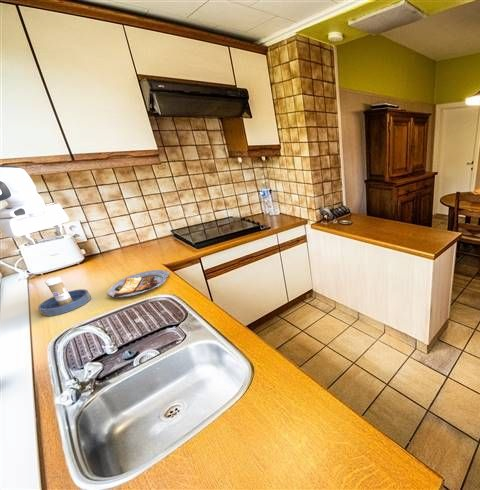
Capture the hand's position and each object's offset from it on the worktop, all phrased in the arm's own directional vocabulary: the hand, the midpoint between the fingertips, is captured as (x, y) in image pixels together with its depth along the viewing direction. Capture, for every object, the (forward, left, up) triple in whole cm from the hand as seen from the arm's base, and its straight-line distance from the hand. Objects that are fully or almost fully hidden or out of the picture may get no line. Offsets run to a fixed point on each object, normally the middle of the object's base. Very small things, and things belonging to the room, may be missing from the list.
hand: (47, 239), depth 110 cm
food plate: (+21, -6, -31) cm, 38 cm away
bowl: (-5, +2, -31) cm, 32 cm away
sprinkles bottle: (-5, +2, -31) cm, 32 cm away
